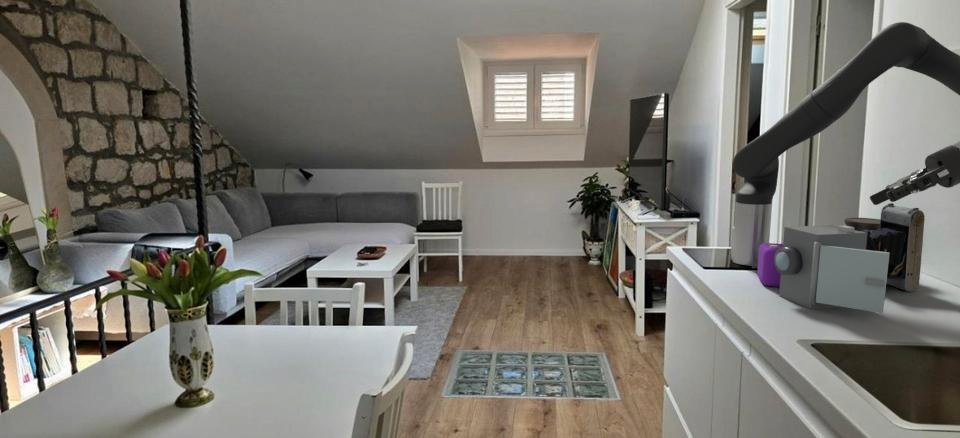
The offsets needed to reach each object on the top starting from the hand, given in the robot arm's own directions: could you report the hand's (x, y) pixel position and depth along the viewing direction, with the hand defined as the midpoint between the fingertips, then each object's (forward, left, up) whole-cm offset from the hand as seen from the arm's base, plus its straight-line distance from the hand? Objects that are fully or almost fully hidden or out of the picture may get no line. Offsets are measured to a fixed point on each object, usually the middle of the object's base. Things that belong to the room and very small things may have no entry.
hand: (880, 199), depth 120 cm
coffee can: (-27, +24, -24) cm, 44 cm away
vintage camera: (-14, +15, -24) cm, 32 cm away
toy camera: (-23, -4, -24) cm, 34 cm away
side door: (+3, -9, -22) cm, 24 cm away
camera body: (-7, -7, -23) cm, 26 cm away
